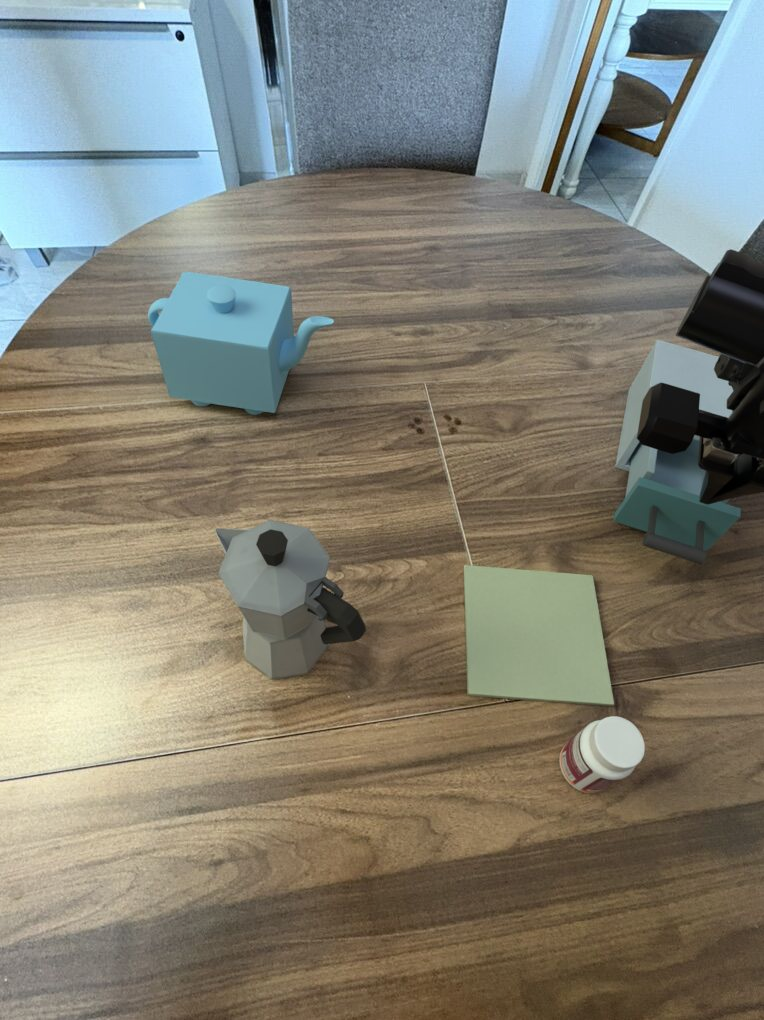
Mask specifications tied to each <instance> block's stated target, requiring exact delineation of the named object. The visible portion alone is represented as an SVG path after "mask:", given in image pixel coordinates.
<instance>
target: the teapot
mask: <svg viewBox="0 0 764 1020" xmlns="http://www.w3.org/2000/svg"><path fill="white" fill-rule="evenodd" d="M292 296H293V295H292V288H291V286H286V285H280V284H273V283H268V282H260V281H254V280H247V279H241V278H234V277H227V276H220V275H213V274H208V273H207V274H206V273H200V272H192V271H186V270H185V271H184V270H183V271H182V274H181V275H180V277H179V280H178V281H177V283H176V285H175V286H174V288H173V290H172V292H171V293H170V295H169V297H161V298H159V299H157V300H154V302H152V304H151V305H150V307H149V309H148V312H147V319H148V322H149V324H150V326H151V327H152V328H151V329H150V335H151V339H152V341H153V344H154V348H155V352H156V355H157V358H158V362H159V365H160V369H161V372H162V376H163V380H164V382H165V386H166V389H167V393H168V396H169V398H173V399H178V400H179V399H180V400H185V401H186V400H187V401H191V402H192V404H193V405H195V406H198V407H207V406H209V405H211V404H212V405H218V406H224V407H225V406H226V407H233V408H238V409H239V408H240V409H244V411H245V412H246V413H248V414H250V415H253V416H254V415H260V414H262V413H265V412H266V413H272V414H275V413H276V411H277V408H278V405H279V402H280V399H281V396H282V393H283V390H284V387H285V384H286V381H287V378H288V375H289V372H290V370H291V369H293V368H295V367H296V366H297V365H298V364H299V363H301V361H302V359H304V356H305V354H306V351H307V350H308V346H309V344H310V340H311V339H312V337H313V335H314V334H315V332H317V330H319V329H322V328H324V327H328V326H331V325H333V324H334V322H335V320H334V319H333V318H331V317H327V316H323V315H316V316H310V317H308V318H306V319H304V320H303V321H302V322H301V324H300V325H299V327H298V330H297V332H296V334H295V333H294V332H295V331H294V330H295V329H294V314H293V312H294V311H293V297H292ZM159 312H160V314H159ZM294 334H295V335H294Z"/></svg>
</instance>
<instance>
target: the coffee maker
mask: <svg viewBox="0 0 764 1020" xmlns="http://www.w3.org/2000/svg"><path fill="white" fill-rule="evenodd" d="M214 533H215V535H216V537H217V539H218V542H219V543H220V546H221V548H222V550H223V553H224V554H225V556H224V558H223V559H222V563H221V565H220V568H219V570H218V576H219V577H220V579H221V581H222V582H223V584H224V586H225V588H226V589H227V591H228V593H229V594H230V596H231V598H232V599H233V601H234V603H235V605H236V606H237V608H238V609H239V610H240V612H241V614H242V615H243V616H242V618H243V619H242V627H241V629H242V643H243V655H244V656H243V657H244V661H245V662H247V663H248V665H249V664H250V666H252V667H254V668H255V669H256V670H258V671H259V672H260V673H261V674H263V675H264V676H265V677H267V678H268V679H270V680H271V681H274V680H281V679H285V678H292V677H298V676H304V675H308V674H309V673H310V672H311V670H312V669H313V668H314V666H315V665H316V664H317V663H318V661H319V660H320V659H321V658H322V657H323V655H324V654H325V652H326V651H327V650H328V648H329V645H333V644H342V643H353V642H356V641H359V640H361V639H362V638H363V636H364V634H366V632H367V626H366V624H365V622H364V620H363V618H362V616H361V614H360V612H359V611H358V610H357V608H355V606H354V605H352V604H351V603H349V602H348V601H346V600H345V599H343V597H344V593H345V592H344V591H343V590H342V589H341V588H340V587H339V585H338V584H337V583H335V582H334V581H332V580H331V579H329V578H328V577H327V574H328V570H329V569H328V568H329V566H330V561H331V557H330V556H329V554H328V552H327V551H326V550H325V548H324V547H323V545H322V544H321V542H320V541H319V540H318V539H317V537H316V535H315V534H314V532H313V531H312V530H311V528H310V527H307V526H302V525H298V524H293V523H287V522H284V521H279V520H273V519H267V520H266V521H264V522H262V523H260V524H258V525H256V526H254V527H251V528H224V527H223V528H221V527H217V528H215V529H214ZM326 621H328V622H329V623H332V624H333V626H328V627H326Z"/></svg>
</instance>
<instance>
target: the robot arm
mask: <svg viewBox="0 0 764 1020" xmlns="http://www.w3.org/2000/svg"><path fill="white" fill-rule="evenodd" d="M675 337H676V338H677V337H678V338H680V339H683V340H686V341H688V342H690V343H692V344H695V345H698V346H701V347H703V348H704V349H708V350H711V351H713V352H715V353H718V354H719V356H718V357H719V358H718V360H717V362H716V364H715V367H714V371H715V373H716V376H717V378H719V379H722V380H726V381H729V382H728V384H729V386H732V389H733V392H732V393H731V395H730V396H729V397H728V399H727V409H729V410H732V414H731V415H730V416H729V417H728V418H727V417H723V416H720V415H717V414H713V413H710V412H707V411H703V410H700V409H699V402H700V394H699V393H696V392H693V391H689V390H686V389H682V388H679V387H676V386H672V385H669V384H665V383H658V384H656V385H654V386H652V387H650V389H649V390H648V392H647V394H646V395H645V397H644V399H643V401H642V408H641V414H640V421H639V427H638V434H637V439H638V440H639V442H640V443H641V444H642V445H644V446H648V447H651V448H654V449H657V450H661V451H664V452H667V453H670V454H674V453H679V452H683V451H686V450H687V448H688V447H689V446H690V444H691V443H692V440H693V438H694V435H697V436H700V441H699V454H698V466H699V467H700V468H701V469H703V470H705V471H706V473H705V476H704V480H703V484H702V488H701V492H700V498H699V502H701V503H704V504H707V505H709V504H712V503H716V502H720V501H724V500H728V499H730V500H732V499H737V498H740V497H744V496H751V495H757V494H763V493H764V263H762V262H759V261H757V260H755V259H754V258H752V257H751V256H749V255H747V254H745V253H743V252H741V251H737V250H734V249H731V248H730V249H727V250H726V251H725V253H724V254H723V256H722V257H721V259H720V261H719V262H718V263H717V265H716V266H715V267H714V268H713V270H712V272H711V274H710V275H709V274H707V275H706V276H705V278H704V279H703V282H702V283H701V285H700V287H699V289H698V291H697V292H696V293H695V296H694V297H693V299H692V301H691V303H690V305H689V307H688V309H687V310H686V313H685V314H684V316H683V318H682V320H681V322H680V324H679V326H678V328H677V331H676V333H675Z"/></svg>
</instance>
